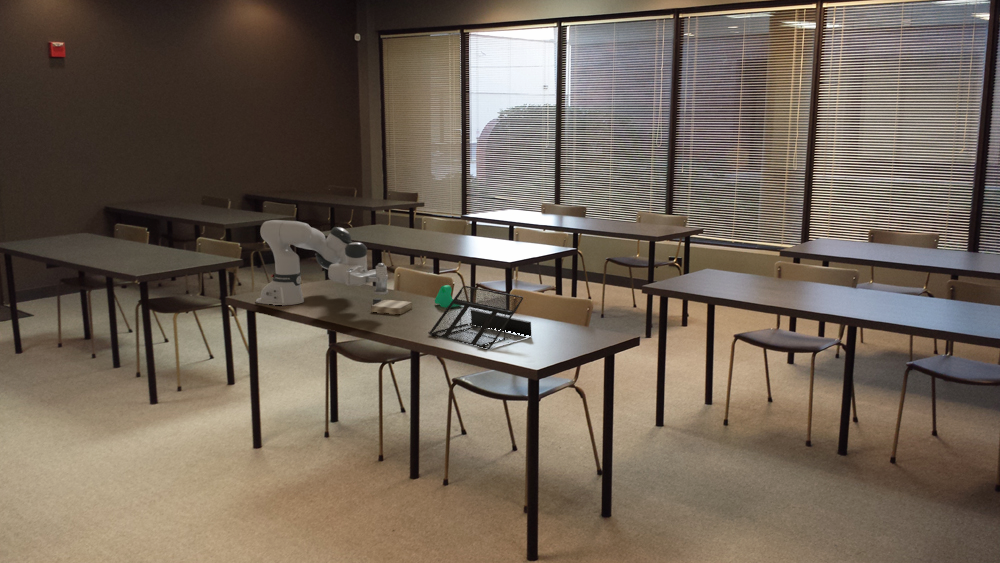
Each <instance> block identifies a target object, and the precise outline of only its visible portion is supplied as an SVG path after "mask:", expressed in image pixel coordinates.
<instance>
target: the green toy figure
mask: <svg viewBox="0 0 1000 563" xmlns="http://www.w3.org/2000/svg"><path fill="white" fill-rule="evenodd" d="M453 299H454V298H453V297H452V286H450V285H449V284H446V285H441V287H440V288H439V291H438V293H437V295H436V297H435V299H434V304H437V305H439V307H442V308H444V309H445V308H446V309H447V308H448V306H449V305H450V303H451V302H452V301H453ZM455 307H456V308H457V306H453V307H452V308H455Z"/></svg>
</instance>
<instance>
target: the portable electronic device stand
mask: <svg viewBox="0 0 1000 563" xmlns="http://www.w3.org/2000/svg"><path fill="white" fill-rule="evenodd" d="M467 290H471V291H469V293H467ZM465 293H467V295H465ZM452 299H453V301H452V302H451V303H450V305H449V306H448V308H446V309H445V310H444V312H443V313H442V314H441V316H440V317H439V319H438V320H437V321H436V323H435V324H434V325H433V327H432V328H431V330H430V331H428V335H430V336H432V337H435V336H437V337H436V338H443V339H446V340H450V341H454V342H458V341H459V343H462V342H464V344H466V343H468V344H467V345H470V344H473V345H472V346H474V345H477V346H476V347H478V346H479V347H483V348H488V349H487V350H491V348H492V346H494V344H495V343H494V342H495V341H497V340H498V339H499V340H500V339H501V338H499V336H500V335H501V334H502V333H503V332H502V331H504V333H503V334H504V335H503V338H502V340H503V339H504V341H506V340H505V338H507V339H508V337H507V336H506V333H505V330H506V332H508V331H511V333H513V332H515V333H516V334H517V333H520V335H521V334H524V336H526V335H529V336H531V337H532V322H531V321H529V320H525V319H520V318H515V317H513V316H514V315H515V313H516V311H517V310H518V309H519V306H520V305H521V303H522V301H524V297H523V296H520V295H516V294H510V293H504V292H500V291H494V290H489V289H483V288H479V287H473V286H469V285H464V286H462V287H461V288H460V289H459V291H458V292H457V293H456V295H455V296H454V298H452ZM453 306H456V307H453ZM468 324H470V325H468ZM471 324H472V325H471ZM466 325H467V326H466ZM473 325H476V326H473ZM462 326H463V327H462ZM478 326H480V327H478ZM481 326H482V327H481ZM457 327H459V328H457ZM473 327H475V328H473ZM454 328H455V329H454ZM471 328H473V329H471ZM488 328H490V329H491V328H492V329H493V330H490V329H488ZM495 328H496V330H497V331H495V330H494V329H495ZM466 329H467V330H466ZM469 329H470V330H469ZM500 329H501V330H500ZM445 330H447V331H445ZM464 330H465V331H467V332H465V331H464ZM498 330H500V331H498ZM441 331H444V332H441ZM458 331H461V332H458ZM438 332H440V333H438ZM455 332H456V333H455ZM457 332H458V333H457ZM469 332H470V333H469ZM452 333H454V334H452ZM473 333H474V334H473ZM485 333H487V334H489V335H486V334H485ZM450 334H451V335H450ZM517 335H518V334H517ZM487 336H488V337H487ZM511 336H514V337H515V335H511ZM511 336H510V335H509V338H510V337H511ZM509 342H510V341H509ZM509 342H507V343H509ZM487 343H489V344H490V345H488V344H487ZM485 344H487V345H485ZM479 347H478V348H479ZM483 348H482V349H483Z"/></svg>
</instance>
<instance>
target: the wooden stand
mask: <svg viewBox="0 0 1000 563" xmlns="http://www.w3.org/2000/svg"><path fill="white" fill-rule="evenodd" d="M412 309H413V302H412V301H406V300H405V301H403V300H393V299H384V300H381V302H379V303H377V304H374V305H373V304H372V305H371V313H373V312H377V314H384V313H389V314H388V315H395V314H400V315H403V314H404V313H407V312H409V311H410V310H412Z"/></svg>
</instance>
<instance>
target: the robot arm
mask: <svg viewBox="0 0 1000 563" xmlns="http://www.w3.org/2000/svg"><path fill="white" fill-rule="evenodd" d="M259 233H260V236H261V238H262V240H263V241H264V242H265V243H267V244H268V246H269V248H270V249H271V252H272V254H273V258H274V265H275V268H274V269H275V273H273V274H270V278H272V280H271V281H270V282H269V283H268V284H267V285H265V286H264V287H262V289H261V293H260V297H259V298H256V301H255V303H257V304H264V305H269V304H273V305H272V306H275V305H282V306H291V305H293V306H294V305H298V304H302V303H304V302H305V299H304V297H303V296H304V295H303V290H302V285H301V282H302V278H301V277H302V275H301V274H302V273H301V271H300V267H301V266H300V256H299V255H298V254H297V253H296V252H295V251H293V249H292V248H291V246H290V245H292V246H294V247H296V248H300V249H304V250H312V251H314V252H316V253H314V256H315V257H316V261H317V263H318V265H320V266H321V267H322V268H323V269H326V270H327V275H328V276H327V277H328V279H329V280H331V281H333V282H335V283H338V284H339V283H340V284H345V285H346V286H348V287H349V286H350V287H351V286H359V287H360V286H363V285H366V284H369V283H376V282H379V278H378V277H376V268H375V269H370V270H368V260H367V258H368V247H367V246H366V245H365V244H364V243H362V242H357V241H356V242H354V241H352V236H351V233H349V231H348V230H347V229H345V228H343V227H340V226H338V227H337V226H334V227H333V228H331V230H330V231H329V234H328V235H327V237H326V235H325V234H324V233H323V232H322V231H320V230H319V229H318V228H315V227H311V226H310V225H309V223H306V222H302V221H297V220H283V219H282V220H280V219H272V220H266V221H264V222H263V223H262V224H261V226H260V232H259ZM387 280H389V276H388V274H387Z"/></svg>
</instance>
